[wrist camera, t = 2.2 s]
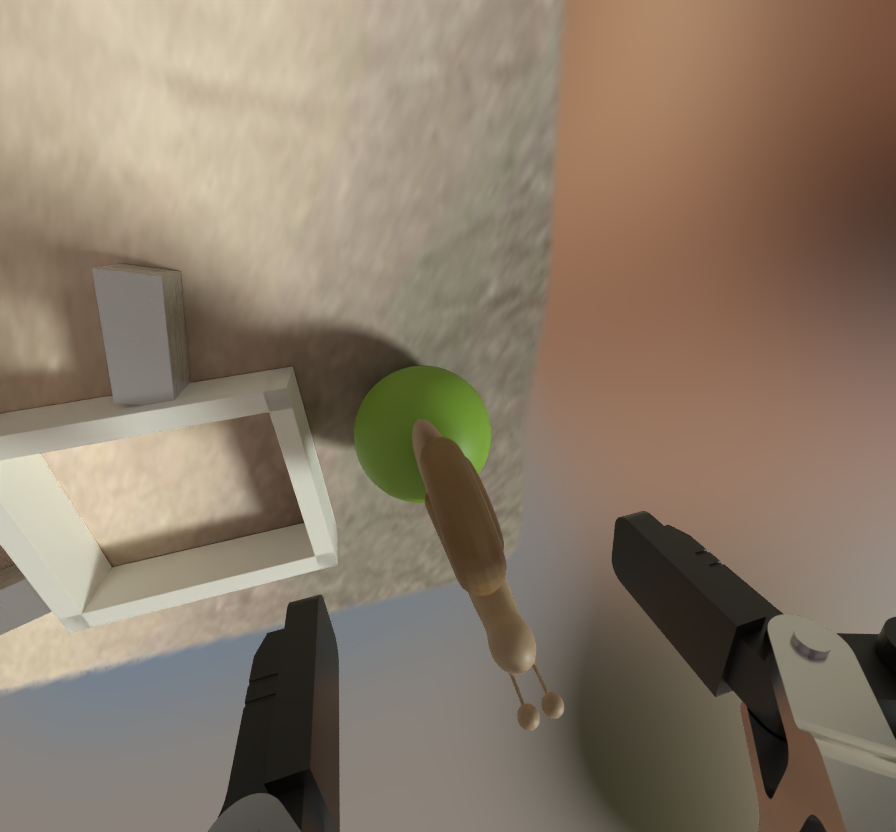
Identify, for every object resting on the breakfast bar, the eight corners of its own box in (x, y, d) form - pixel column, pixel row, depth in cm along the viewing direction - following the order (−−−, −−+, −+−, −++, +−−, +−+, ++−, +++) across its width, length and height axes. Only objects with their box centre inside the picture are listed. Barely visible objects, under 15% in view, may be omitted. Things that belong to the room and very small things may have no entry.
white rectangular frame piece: (-268, 305, 12) (-405, 322, 10) (259, 247, 15) (246, 251, 12) (-4, 611, 18) (-52, 666, 15) (337, 530, 20) (338, 566, 18)
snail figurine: (386, 490, 20) (444, 778, 10) (330, 378, 17) (324, 619, 7) (486, 448, 21) (645, 679, 10) (448, 331, 18) (620, 486, 7)
